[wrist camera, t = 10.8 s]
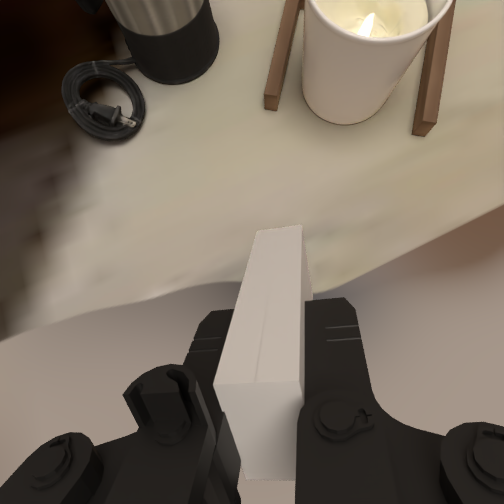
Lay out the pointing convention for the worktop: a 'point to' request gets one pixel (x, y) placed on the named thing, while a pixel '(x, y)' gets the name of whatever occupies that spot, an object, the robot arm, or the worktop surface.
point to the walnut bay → (429, 79)
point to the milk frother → (144, 58)
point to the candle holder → (361, 52)
